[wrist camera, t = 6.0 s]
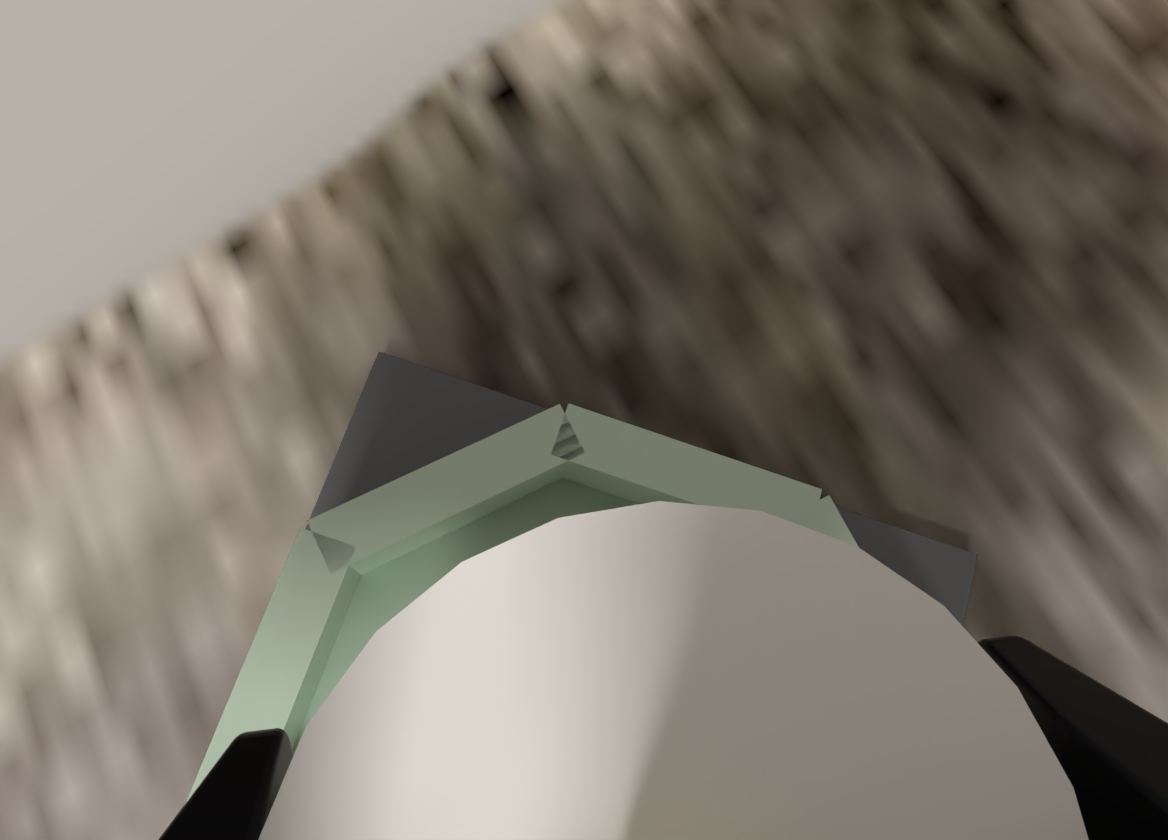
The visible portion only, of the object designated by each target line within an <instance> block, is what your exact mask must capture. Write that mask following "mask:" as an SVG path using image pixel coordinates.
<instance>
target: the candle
mask: <svg viewBox="0 0 1168 840" xmlns="http://www.w3.org/2000/svg"><path fill="white" fill-rule="evenodd" d="M258 840H1089V839H1088V835H1087V832H1086V829H1085V825H1084V822H1083V818H1082V815H1081V812H1080V808H1079V805H1078V801H1077V798H1076V795H1075V791H1074V788H1073V786H1072V784H1071V782H1070V780H1069V779H1068V777H1067V775H1066V773H1065V771H1064V770H1063V768H1062V766H1061V764H1060V762H1059V761H1058V759H1057V757H1056V755H1055V753H1054V752H1053V750H1052V748H1051V746H1050V744H1049V743H1048V741H1047V739H1046V737H1045V736H1044V734H1043V732H1042V730H1041V728H1040V727H1039V725H1038V723H1037V721H1036V719H1035V718H1034V716H1033V714H1032V712H1031V710H1030V709H1029V707H1028V705H1027V703H1026V701H1025V700H1024V698H1023V696H1022V694H1021V692H1020V691H1019V689H1018V687H1017V686H1016V685H1015V684H1014V683H1013V681H1012V680H1011V679H1010V678H1009V677H1008V676H1007V675H1006V674H1005V673H1004V671H1003V670H1002V669H1001V668H1000V667H999V666H998V665H997V664H996V663H995V662H994V660H993V659H992V658H991V657H990V656H989V655H988V654H987V653H986V652H985V651H984V649H983V648H982V647H981V646H980V645H979V644H978V643H977V642H976V641H975V639H974V638H973V637H972V636H971V635H970V634H969V633H968V632H967V631H966V630H965V628H964V627H963V626H962V625H961V624H960V623H959V622H958V621H957V620H956V618H955V617H954V616H953V615H952V614H951V613H950V612H949V611H948V610H947V609H946V607H945V606H944V605H942V604H941V603H939V602H938V601H937V600H935V599H934V598H932V597H931V596H929V595H928V594H926V593H925V592H923V591H922V590H920V589H919V588H917V587H916V586H915V585H913V584H912V583H910V582H909V581H907V580H906V579H904V578H903V577H901V576H900V575H898V574H897V573H895V572H894V571H893V570H891V569H890V568H888V567H887V566H885V565H884V564H882V563H881V562H879V561H878V560H876V559H875V558H873V557H872V556H871V555H869V554H868V553H866V552H865V551H863V550H862V549H860V548H859V547H857V546H855V545H853V544H850V543H847V542H845V541H842V540H839V539H836V538H834V537H831V536H828V535H825V534H823V533H820V532H817V531H814V530H812V529H809V528H806V527H804V526H801V525H798V524H795V523H793V522H790V521H787V520H784V519H782V518H779V517H776V516H774V515H771V514H768V513H765V512H763V511H760V510H749V509H739V508H728V507H717V506H707V505H696V504H686V503H675V502H665V501H656V502H650V503H644V504H638V505H632V506H626V507H620V508H614V509H608V510H602V511H596V512H590V513H584V514H578V515H573V516H567V517H561V518H557V519H555V520H552V521H550V522H548V523H546V524H544V525H541V526H539V527H537V528H535V529H533V530H530V531H528V532H526V533H524V534H522V535H520V536H517V537H515V538H513V539H511V540H509V541H506V542H504V543H502V544H500V545H498V546H495V547H493V548H491V549H489V550H487V551H484V552H482V553H480V554H478V555H476V556H473V557H471V558H469V559H467V560H465V561H462V562H461V563H460V564H459V565H457V566H456V567H455V568H454V569H452V570H451V571H450V572H449V573H447V574H446V575H445V576H444V577H443V578H441V579H440V580H439V581H438V582H436V583H435V584H434V585H433V586H432V587H430V588H429V589H428V590H427V591H425V592H424V593H423V594H422V595H420V596H419V597H418V598H417V599H416V600H414V601H413V602H412V603H411V604H409V605H408V606H407V607H406V608H405V609H403V610H402V611H401V612H400V613H398V614H397V615H396V616H395V617H393V618H392V619H391V620H390V621H389V622H387V623H386V624H385V625H384V626H382V627H381V628H380V629H379V630H378V631H376V632H375V634H374V635H373V636H372V638H371V639H370V640H369V642H368V643H367V644H366V646H365V647H364V648H363V650H362V651H361V653H360V654H359V655H358V657H357V658H356V659H355V661H354V662H353V663H352V665H351V666H350V667H349V669H348V670H347V671H346V673H345V674H344V675H343V677H342V678H341V679H340V681H339V682H338V684H337V685H336V686H335V688H334V689H333V690H332V692H331V693H330V694H329V696H328V697H327V698H326V700H325V701H324V702H323V704H322V705H321V706H320V708H319V709H318V710H317V712H316V713H315V714H314V716H313V717H312V719H311V720H310V721H309V723H308V724H307V725H306V727H305V729H304V732H303V734H302V736H301V739H300V741H299V744H298V746H297V748H296V751H295V753H294V756H293V758H292V760H291V763H290V765H289V767H288V770H287V772H286V775H285V777H284V779H283V782H282V784H281V787H280V789H279V791H278V794H277V796H276V798H275V801H274V803H273V806H272V808H271V810H270V813H269V815H268V818H267V820H266V822H265V825H264V827H263V829H262V832H261V834H260V837H259V839H258Z"/></svg>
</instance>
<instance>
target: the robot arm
mask: <svg viewBox="0 0 1168 840" xmlns="http://www.w3.org/2000/svg"><path fill="white" fill-rule="evenodd" d="M978 644H979V645H980V646H981V647H982V648H983V649H984V651H985V652H986V653H987V654H988V655H989V656H990V657H991V658H992V659H993V660H994V662H995V663H996V664H997V665H998V666H999V667H1000V668H1001V669H1002V670H1003V671H1004V673H1005V674H1006V675H1007V676H1008V677H1009V678H1010V679H1011V680H1012V681H1013V683H1014V684H1015V685H1016V686H1017V687H1018V689H1019V691H1020V692H1021V694H1022V696H1023V698H1024V700H1025V701H1026V703H1027V705H1028V707H1029V709H1030V710H1031V712H1032V714H1033V716H1034V718H1035V719H1036V721H1037V723H1038V725H1039V727H1040V728H1041V730H1042V732H1043V734H1044V736H1045V737H1046V739H1047V741H1048V743H1049V744H1050V746H1051V748H1052V750H1053V752H1054V753H1055V755H1056V757H1057V759H1058V761H1059V762H1060V764H1061V766H1062V768H1063V770H1064V771H1065V773H1066V775H1067V777H1068V779H1069V780H1070V782H1071V784H1072V786H1073V788H1074V791H1075V795H1076V798H1077V801H1078V805H1079V808H1080V812H1081V815H1082V818H1083V822H1084V825H1085V829H1086V832H1087V835H1088V839H1089V840H1168V723H1166V722H1165V721H1163V720H1161V719H1159V718H1158V717H1156V716H1154V715H1153V714H1151V713H1149V712H1148V711H1146V710H1144V709H1143V708H1141V707H1139V706H1138V705H1136V704H1134V703H1133V702H1131V701H1129V700H1127V699H1126V698H1124V697H1122V696H1121V695H1119V694H1117V693H1116V692H1114V691H1112V690H1111V689H1109V688H1107V687H1106V686H1104V685H1102V684H1100V683H1099V682H1097V681H1095V680H1094V679H1092V678H1090V677H1089V676H1087V675H1085V674H1084V673H1082V672H1080V671H1079V670H1077V669H1075V668H1073V667H1072V666H1070V665H1068V664H1067V663H1065V662H1063V661H1062V660H1060V659H1058V658H1057V657H1055V656H1053V655H1052V654H1050V653H1048V652H1047V651H1045V650H1043V649H1041V648H1040V647H1038V646H1036V645H1035V644H1033V643H1031V642H1030V641H1028V640H1026V639H1024V638H1022V637H1018V636H1007V637H999V638H991V639H984V640H981V641H979V642H978ZM292 758H293V752H292V748H291V744H290V740H289V737H288V735H287V733H286V732H285V730H283V729H280V728H274V729H266V730H258V731H250V732H244V733H242V734H240V735H238V736H237V737H236V738H235V739H234V740H233V741H232V742H231V744H230V745H229V746H228V748H227V749H226V750H225V752H224V753H223V754H222V756H221V757H220V758H219V760H218V761H217V762H216V764H215V765H214V766H213V768H212V769H211V770H210V772H209V773H208V774H207V776H206V777H205V778H204V780H203V781H202V782H201V784H200V785H199V786H198V788H197V789H196V790H195V792H194V793H193V794H192V796H191V797H190V798H189V800H188V801H187V802H186V804H185V805H184V806H183V808H182V809H181V810H180V812H179V813H178V814H177V816H176V817H175V818H174V820H173V821H172V822H171V824H170V825H169V826H168V828H167V829H166V830H165V832H164V833H163V834H162V836H161V837H160V838H159V840H258V839H259V837H260V834H261V832H262V829H263V827H264V825H265V822H266V820H267V818H268V815H269V813H270V810H271V808H272V806H273V803H274V801H275V798H276V796H277V794H278V791H279V789H280V787H281V784H282V782H283V779H284V777H285V775H286V772H287V770H288V767H289V765H290V763H291V760H292Z"/></svg>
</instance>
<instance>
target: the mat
mask: <svg viewBox="0 0 1168 840" xmlns="http://www.w3.org/2000/svg"><path fill="white" fill-rule="evenodd" d="M545 410H547V408H544V407H541V406H538V405H535V404H532V403H529V402H526V401H523V400H521V399H518V398H515V397H512V396H509V395H506V394H503V393H500V392H497V391H494V390H491V389H488V388H485V387H482V386H479V385H476V384H473V383H470V382H467V381H464V380H461V379H459V378H456V377H453V376H450V375H447V374H444V373H441V372H438V371H435V370H432V369H429V368H426V367H423V366H420V365H417V364H414V363H411V362H408V361H405V360H402V359H400V358H397V357H394V356H391V355H388V354H385V353H382V352H379V353H378V355H377V358H376V360H375V363H374V365H373V367H372V370H371V372H370V375H369V377H368V380H367V382H366V384H365V387H364V389H363V392H362V394H361V396H360V399H359V401H358V404H357V406H356V409H355V411H354V413H353V416H352V418H351V421H350V423H349V425H348V428H347V430H346V433H345V435H344V438H343V440H342V442H341V445H340V447H339V450H338V452H337V454H336V457H335V459H334V462H333V464H332V466H331V469H330V471H329V474H328V476H327V479H326V481H325V483H324V486H323V488H322V491H321V493H320V495H319V498H318V500H317V503H316V505H315V508H314V510H313V512H312V515H311V517H310V519H311V518H314V517H316V516H318V515H320V514H322V513H324V512H327V511H329V510H331V509H333V508H335V507H337V506H340V505H342V504H344V503H346V502H348V501H350V500H353V499H355V498H357V497H359V496H361V495H363V494H366V493H368V492H370V491H372V490H374V489H376V488H379V487H381V486H383V485H385V484H387V483H389V482H392V481H394V480H396V479H398V478H400V477H402V476H404V475H407V474H409V473H411V472H413V471H415V470H417V469H420V468H422V467H424V466H426V465H428V464H430V463H433V462H435V461H437V460H439V459H441V458H443V457H446V456H448V455H450V454H452V453H454V452H456V451H459V450H461V449H463V448H465V447H467V446H469V445H472V444H474V443H476V442H478V441H480V440H482V439H485V438H487V437H489V436H491V435H493V434H495V433H498V432H500V431H502V430H504V429H506V428H508V427H511V426H513V425H515V424H517V423H519V422H521V421H523V420H526V419H528V418H530V417H532V416H534V415H536V414H539V413H541V412H543V411H545ZM836 508H837V510H838V511H839V513H840V515H841V517H842V519H843V520H844V522H845V524H846V526H847V527H848V529H849V531H850V533H851V534H852V536H853V538H854V540H855V541H856V543H857V545H858V547H859V548H860V549H862V550H863V551H865V552H866V553H868V554H869V555H871V556H872V557H873V558H875V559H876V560H878V561H879V562H881V563H882V564H884V565H885V566H887V567H888V568H890V569H891V570H893V571H894V572H895V573H897V574H898V575H900V576H901V577H903V578H904V579H906V580H907V581H909V582H910V583H912V584H913V585H915V586H916V587H917V588H919V589H920V590H922V591H923V592H925V593H926V594H928V595H929V596H931V597H932V598H934V599H935V600H937V601H938V602H939V603H941V604H942V605H944V606H945V607H946V609H947V610H948V611H949V612H950V613H951V614H952V615H953V616H954V617H955V618H956V620H957V621H958V622H959V623H960V624H961V625H962V626H963V624H964V619H965V614H966V610H967V605H968V600H969V595H970V590H971V585H972V580H973V576H974V571H975V566H976V561H977V556H978V554H975V553H972V552H969V551H966V550H963V549H960V548H957V547H954V546H951V545H948V544H945V543H942V542H939V541H936V540H934V539H931V538H928V537H925V536H922V535H919V534H916V533H913V532H910V531H907V530H904V529H901V528H898V527H895V526H892V525H889V524H886V523H883V522H880V521H877V520H875V519H872V518H869V517H866V516H863V515H860V514H857V513H854V512H851V511H848V510H845V509H842V508H839V507H836ZM306 530H309V531H311V529H310V526H309V524H307V527H306Z"/></svg>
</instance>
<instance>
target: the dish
mask: <svg viewBox="0 0 1168 840" xmlns="http://www.w3.org/2000/svg"><path fill="white" fill-rule="evenodd" d="M821 492H822V489H820V488H817V487H814V486H811V485H808V484H805V483H802V482H799V481H796V480H793V479H790V478H787V477H784V476H781V475H779V474H776V473H773V472H770V471H767V470H764V469H761V468H758V467H755V466H752V465H749V464H746V463H743V462H740V461H737V460H734V459H731V458H728V457H725V456H722V455H720V454H717V453H714V452H711V451H708V450H705V449H702V448H699V447H696V446H693V445H690V444H687V443H684V442H681V441H678V440H675V439H672V438H669V437H666V436H663V435H661V434H658V433H655V432H652V431H649V430H646V429H643V428H640V427H637V426H634V425H631V424H628V423H625V422H622V421H619V420H616V419H613V418H610V417H607V416H604V415H602V414H599V413H596V412H593V411H590V410H587V409H584V408H581V407H578V406H575V405H572V404H568V406H567V409H566V412H565V413H564V411H563V409H562V407H561V405H560V404H558V405H556V406H554V407H552V408H549V409H547V410H545V411H543V412H541V413H539V414H536V415H534V416H532V417H530V418H528V419H526V420H523V421H521V422H519V423H517V424H515V425H513V426H511V427H508V428H506V429H504V430H502V431H500V432H498V433H495V434H493V435H491V436H489V437H487V438H485V439H482V440H480V441H478V442H476V443H474V444H472V445H469V446H467V447H465V448H463V449H461V450H459V451H456V452H454V453H452V454H450V455H448V456H446V457H443V458H441V459H439V460H437V461H435V462H433V463H430V464H428V465H426V466H424V467H422V468H420V469H417V470H415V471H413V472H411V473H409V474H407V475H404V476H402V477H400V478H398V479H396V480H394V481H392V482H389V483H387V484H385V485H383V486H381V487H379V488H376V489H374V490H372V491H370V492H368V493H366V494H363V495H361V496H359V497H357V498H355V499H353V500H350V501H348V502H346V503H344V504H342V505H340V506H337V507H335V508H333V509H331V510H329V511H327V512H324V513H322V514H320V515H318V516H316V517H314V518H311V519H309V520H307V522H308V524H309V526H310V529H311V531H309V530H306V529H303V528H300V529H299V532H298V534H297V537H296V539H295V541H294V544H293V546H292V549H291V551H290V553H289V556H288V558H287V561H286V563H285V565H284V568H283V570H282V573H281V575H280V577H279V580H278V582H277V585H276V587H275V590H274V592H273V594H272V597H271V599H270V602H269V604H268V606H267V609H266V611H265V614H264V616H263V618H262V621H261V623H260V626H259V628H258V630H257V633H256V635H255V638H254V640H253V642H252V645H251V647H250V650H249V652H248V654H247V657H246V659H245V662H244V664H243V666H242V669H241V671H240V674H239V676H238V678H237V681H236V683H235V686H234V688H233V691H232V693H231V695H230V698H229V700H228V703H227V705H226V707H225V710H224V712H223V715H222V717H221V719H220V722H219V724H218V727H217V729H216V731H215V734H214V736H213V739H212V741H211V743H210V746H209V748H208V751H207V753H206V755H205V758H204V760H203V763H202V765H201V767H200V770H199V772H198V775H197V777H196V779H195V782H194V784H193V787H192V789H191V791H190V794H189V796H188V799H187V801H188V800H189V798H190V797H191V796H192V794H193V793H194V792H195V790H196V789H197V788H198V786H199V785H200V784H201V782H202V781H203V780H204V778H205V777H206V776H207V774H208V773H209V772H210V770H211V769H212V768H213V766H214V765H215V764H216V762H217V761H218V760H219V758H220V757H221V756H222V754H223V753H224V752H225V750H226V749H227V748H228V746H229V745H230V744H231V742H232V741H233V740H234V739H235V738H236V737H237V736H238V735H240V734H242V733H244V732H250V731H258V730H266V729H274V728H280V729H283V730H285V732H286V733H287V735H288V737H289V740H290V744H291V748H292V752H293V756H294V753H295V751H296V748H297V746H298V744H299V741H300V739H301V736H302V734H303V732H304V729H305V727H306V725H307V724H308V723H309V721H310V720H311V719H312V717H313V716H314V714H315V713H316V712H317V710H318V709H319V708H320V706H321V705H322V704H323V702H324V701H325V700H326V698H327V697H328V696H329V694H330V693H331V692H332V690H333V689H334V688H335V686H336V685H337V684H338V682H339V681H340V679H341V678H342V677H343V675H344V674H345V673H346V671H347V670H348V669H349V667H350V666H351V665H352V663H353V662H354V661H355V659H356V658H357V657H358V655H359V654H360V653H361V651H362V650H363V648H364V647H365V646H366V644H367V643H368V642H369V640H370V639H371V638H372V636H373V635H374V634H375V632H376V631H378V630H379V629H380V628H381V627H382V626H384V625H385V624H386V623H387V622H389V621H390V620H391V619H392V618H393V617H395V616H396V615H397V614H398V613H400V612H401V611H402V610H403V609H405V608H406V607H407V606H408V605H409V604H411V603H412V602H413V601H414V600H416V599H417V598H418V597H419V596H420V595H422V594H423V593H424V592H425V591H427V590H428V589H429V588H430V587H432V586H433V585H434V584H435V583H436V582H438V581H439V580H440V579H441V578H443V577H444V576H445V575H446V574H447V573H449V572H450V571H451V570H452V569H454V568H455V567H456V566H457V565H459V564H460V563H461V562H462V561H465V560H467V559H469V558H471V557H473V556H476V555H478V554H480V553H482V552H484V551H487V550H489V549H491V548H493V547H495V546H498V545H500V544H502V543H504V542H506V541H509V540H511V539H513V538H515V537H517V536H520V535H522V534H524V533H526V532H528V531H530V530H533V529H535V528H537V527H539V526H541V525H544V524H546V523H548V522H550V521H552V520H555V519H557V518H561V517H567V516H573V515H578V514H584V513H590V512H596V511H602V510H608V509H614V508H620V507H626V506H632V505H638V504H644V503H650V502H656V501H665V502H675V503H686V504H696V505H707V506H717V507H728V508H739V509H749V510H760V511H763V512H765V513H768V514H771V515H774V516H776V517H779V518H782V519H784V520H787V521H790V522H793V523H795V524H798V525H801V526H804V527H806V528H809V529H812V530H814V531H817V532H820V533H823V534H825V535H828V536H831V537H834V538H836V539H839V540H842V541H845V542H847V543H850V544H853V545H855V546H857V547H858V545H857V543H856V541H855V540H854V538H853V536H852V534H851V533H850V531H849V529H848V527H847V526H846V524H845V522H844V520H843V519H842V517H841V515H840V513H839V511H838V510H837V508H836V506H835V504H834V503H833V501H832V499H831V497H830V496H829V495H828V496H826V497H824V498H822V499H820V496H821ZM187 801H186V802H187Z"/></svg>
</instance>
